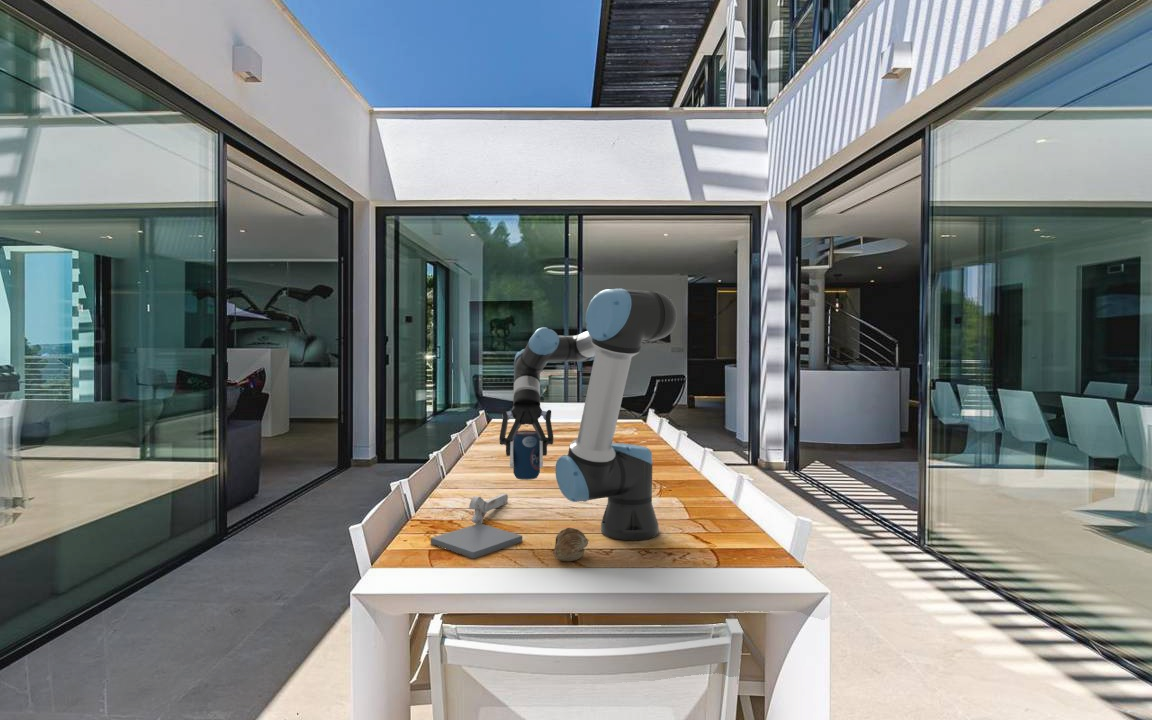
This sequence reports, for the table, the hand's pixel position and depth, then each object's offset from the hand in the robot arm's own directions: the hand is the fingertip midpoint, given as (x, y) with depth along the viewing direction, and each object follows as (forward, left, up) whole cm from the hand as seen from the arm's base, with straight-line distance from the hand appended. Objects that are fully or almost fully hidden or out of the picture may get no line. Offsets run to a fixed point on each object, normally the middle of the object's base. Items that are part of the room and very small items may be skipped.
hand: (526, 465), depth 158 cm
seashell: (-19, +5, -19) cm, 27 cm away
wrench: (+22, -7, -19) cm, 30 cm away
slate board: (+6, +12, -18) cm, 23 cm away
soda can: (+3, -3, -4) cm, 6 cm away
